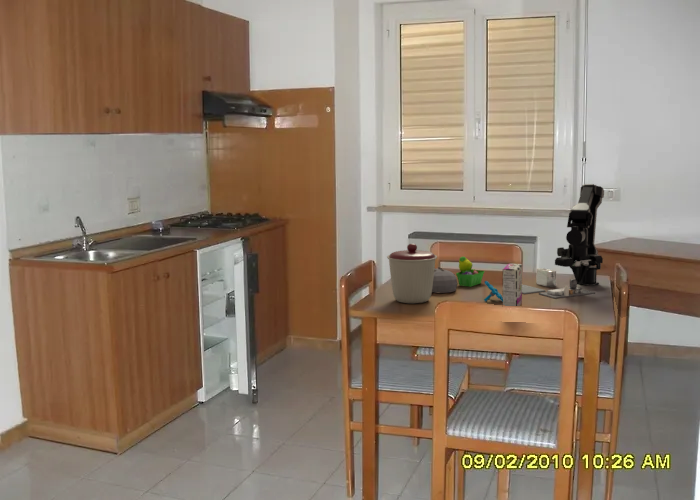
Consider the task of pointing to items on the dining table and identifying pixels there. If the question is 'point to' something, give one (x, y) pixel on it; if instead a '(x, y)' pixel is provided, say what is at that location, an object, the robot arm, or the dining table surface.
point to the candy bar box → (512, 285)
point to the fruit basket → (468, 273)
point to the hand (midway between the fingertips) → (578, 282)
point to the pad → (530, 289)
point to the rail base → (567, 293)
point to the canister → (412, 274)
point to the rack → (572, 289)
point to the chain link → (546, 277)
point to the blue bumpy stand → (493, 292)
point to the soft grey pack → (444, 281)
